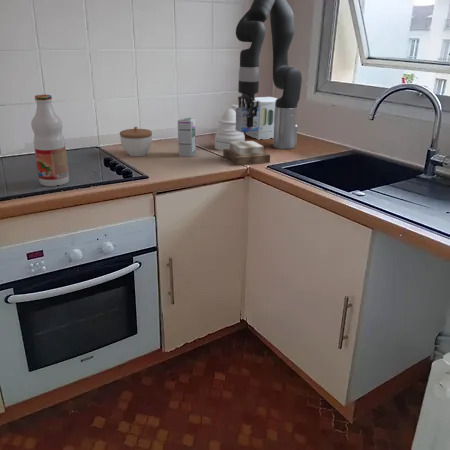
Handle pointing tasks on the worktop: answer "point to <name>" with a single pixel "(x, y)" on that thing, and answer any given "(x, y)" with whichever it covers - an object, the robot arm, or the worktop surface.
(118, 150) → the worktop surface
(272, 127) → the supplement box
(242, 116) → the medicine box
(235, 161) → the plinth
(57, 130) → the fruit juice
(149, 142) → the lidded bowl
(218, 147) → the honey pot
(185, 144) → the syrup box
